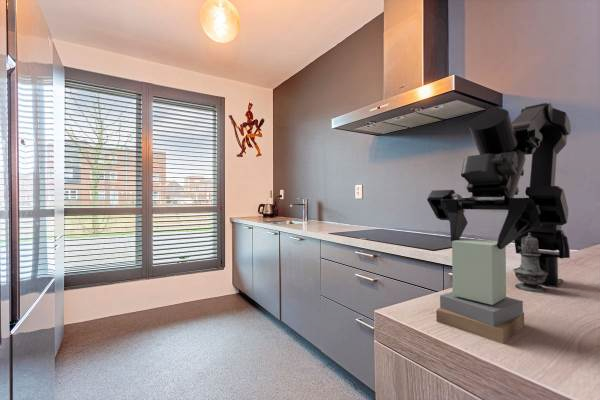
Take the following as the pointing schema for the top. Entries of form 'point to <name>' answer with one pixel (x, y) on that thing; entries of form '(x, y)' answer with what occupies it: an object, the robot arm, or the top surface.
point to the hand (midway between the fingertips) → (474, 244)
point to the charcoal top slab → (483, 309)
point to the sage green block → (478, 270)
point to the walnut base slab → (481, 325)
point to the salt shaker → (530, 266)
